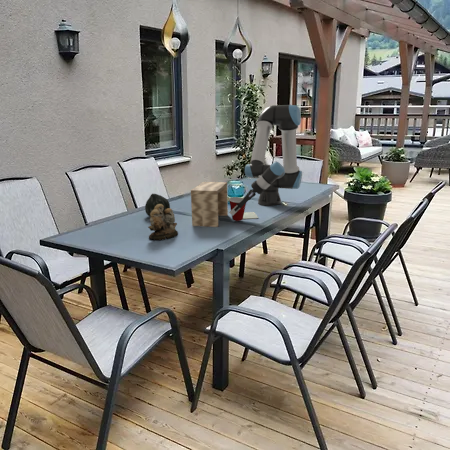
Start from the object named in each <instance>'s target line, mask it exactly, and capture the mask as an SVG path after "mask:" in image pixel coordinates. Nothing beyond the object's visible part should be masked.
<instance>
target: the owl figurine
mask: <svg viewBox="0 0 450 450" xmlns="http://www.w3.org/2000/svg"><path fill="white" fill-rule="evenodd" d="M163 209H164V206H163V205H162V204H158V205H156V206H155V208H154V210H153V211H151V213H150V216H151V217H150V216H149V222H150V225H149V226H147V228H148V229H149V230H150V231H152V232H151V233H150V234H149V235H148V239H150V240H153V241H164V240H170V239H173V238H176V237H177V236H178V235H179V232H178V230H177V229H176V226H177V225H178V223H177V222H176V217H175V213H174V212H173V211H174V210H173V209H172V208H171V207H170V208H167V209H165V210H164V212H163Z"/></svg>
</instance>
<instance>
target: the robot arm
mask: <svg viewBox="0 0 450 450" xmlns="http://www.w3.org/2000/svg"><path fill="white" fill-rule="evenodd" d="M300 110H301V109H300V108H299V106H298V105H296V104H294V105H293V104H282V105H280V104H279V105H275V104H274V105H270V106H268V107H266V108H265V109H264V110H263V111H261V113H260V114H259V116H258V119H257V120H256V121H257V122H256V128H257V130H256V136H255V139H254V143H253V149H252V153H251V159H250V163H248V164H246V165H245V166H244V174H245V175H244V176H245V177H246V178H251V179H254V178H255V179H256V180H254V181H253V182H252V183H251V188H252V189H249V191H248V192H247V193H246V194H245V196H244V197H243V198H244V199H243V200H242V201H241V202H240V203H239V204H238V203H237V205H236V206H235V207H234V208H233V209H232V210H231V209H230V211H228V214H230V215H231V217H232V216H233V215H234V214H235V213H236V212H237V211H238V210H239V209H240V208H242V206H243V205H244V204H245V203H246V204H247V203H248V201H250V200H251V199H252V198H254V197H255V196H256V194H258V195H259V196H258V200H257V204H258V205H260V206H265V207H266V206H268V207H269V206H271V207H273V206H279V205H281V204H282V199H281V195H280V193H279V189H285V190H287V189H288V190H297V189H299V188H300V187H301V184H302V179H303V171H302V170H300V167H299V166H298V164H297V163H298V162H297V129H299V126H300V125H301V122H302V117H301V116H302V115H301V111H300ZM273 126H278V129H279V130H280V131H281V147H282V164H281V163H280V162H279V161H274V162H273V163H271V164H264V162H265V159H266V153H267V148H268V142H269V138H270V132H271V130H272V129H273Z"/></svg>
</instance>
